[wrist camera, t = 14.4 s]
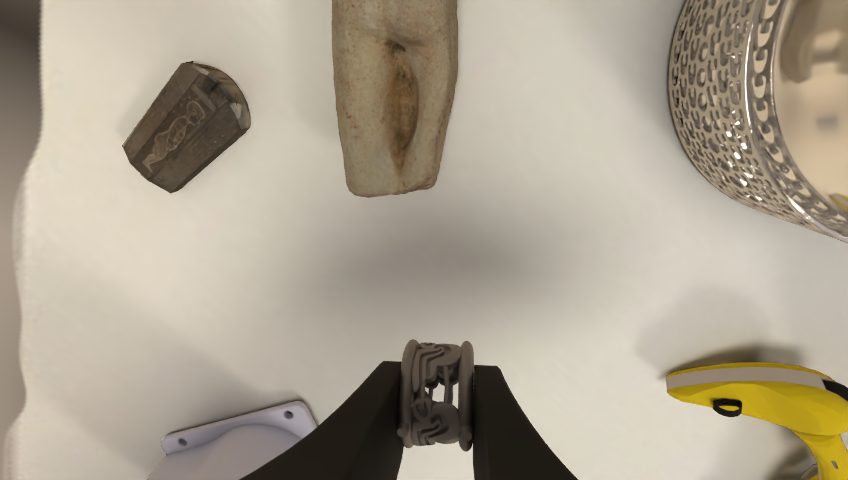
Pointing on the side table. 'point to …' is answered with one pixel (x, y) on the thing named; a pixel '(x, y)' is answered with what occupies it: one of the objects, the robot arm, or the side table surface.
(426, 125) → the sculpture
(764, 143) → the silver candle holder
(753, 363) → the yellow curved piece
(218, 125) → the block
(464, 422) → the decorative ring
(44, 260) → the side table surface
